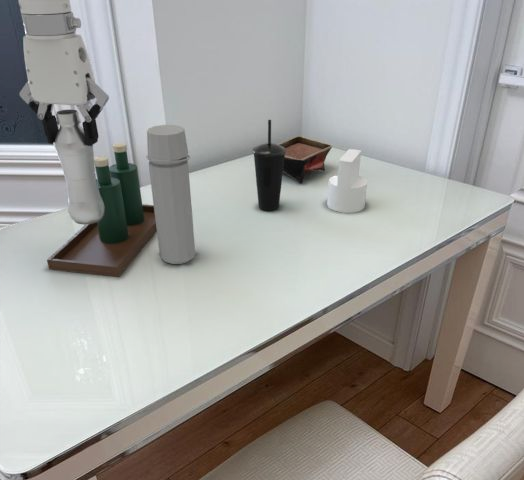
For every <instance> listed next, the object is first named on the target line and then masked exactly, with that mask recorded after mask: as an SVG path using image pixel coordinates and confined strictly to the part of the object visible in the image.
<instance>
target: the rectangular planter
mask: <svg viewBox="0 0 524 480" xmlns="http://www.w3.org/2000/svg"><path fill="white" fill-rule="evenodd" d="M277 144H278V145H280V146H282V147H284V148H286V154H285V158H284V166H283V174H286V175H288V176H289V177H290V178H292V179H294V180H295V181H297V182H299V184H303V183H304V181H305V179H306V178H307V177H308V175H310V173H312V172H313V171H322V172H326V170H325V169H326V168H325V161H326V159H327V156H328V154H329V153H330V152H331V150H332V148H333V146H332V144H331V143H328V142H325V141H321V140H318V139H314V138H311V137H306V136H303V135H296V136H293V137H291V138H289V139H287V140H284V141H282V142H279V143H277Z"/></svg>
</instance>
